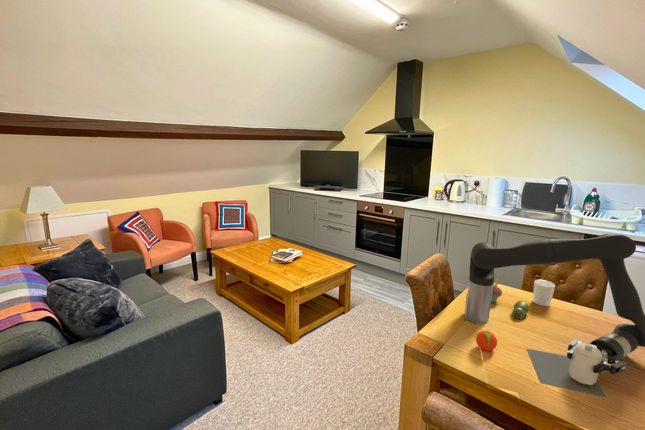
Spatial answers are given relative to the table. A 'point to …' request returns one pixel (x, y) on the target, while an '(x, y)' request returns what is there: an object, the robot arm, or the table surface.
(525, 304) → the pear
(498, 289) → the cupcake
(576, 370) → the white lidded jar
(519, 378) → the table surface
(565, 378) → the mat
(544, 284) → the white cup
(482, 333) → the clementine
